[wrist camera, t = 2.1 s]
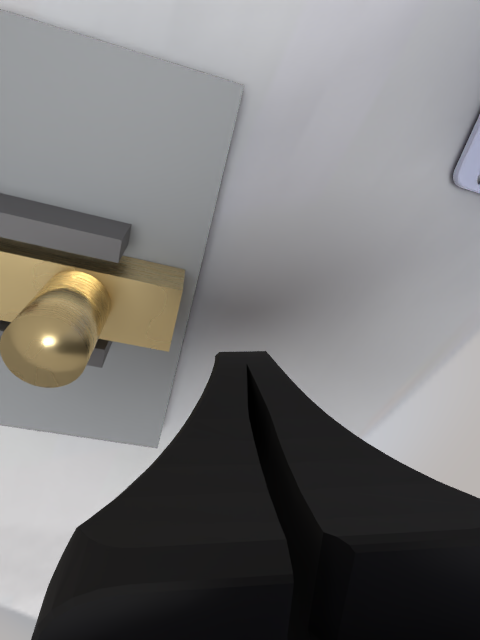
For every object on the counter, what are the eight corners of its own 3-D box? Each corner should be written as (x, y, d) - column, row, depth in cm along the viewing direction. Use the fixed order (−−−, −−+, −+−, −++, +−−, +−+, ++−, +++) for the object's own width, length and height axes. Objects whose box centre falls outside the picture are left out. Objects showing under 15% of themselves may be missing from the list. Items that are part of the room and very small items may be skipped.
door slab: (240, 87, 14) (250, 81, 11) (160, 424, 20) (152, 483, 16) (-146, -32, 12) (-266, -81, 9) (-108, 382, 18) (-173, 440, 15)
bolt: (185, 269, 15) (177, 337, 10) (172, 325, 16) (160, 409, 11) (-35, 220, 13) (-150, 274, 9) (-35, 283, 14) (-140, 360, 10)
